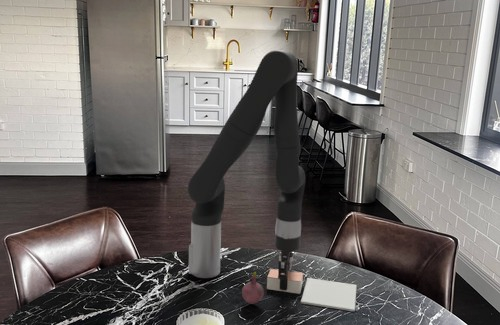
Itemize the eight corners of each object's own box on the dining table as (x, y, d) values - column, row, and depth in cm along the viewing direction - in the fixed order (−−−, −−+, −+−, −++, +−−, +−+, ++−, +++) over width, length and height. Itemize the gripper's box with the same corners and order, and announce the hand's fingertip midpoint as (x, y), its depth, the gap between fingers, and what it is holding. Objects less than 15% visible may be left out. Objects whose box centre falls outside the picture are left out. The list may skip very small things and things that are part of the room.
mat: (300, 303, 136) (300, 301, 136) (307, 279, 150) (307, 277, 150) (354, 311, 133) (354, 309, 132) (356, 286, 147) (356, 284, 147)
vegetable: (259, 312, 130) (261, 278, 128) (238, 307, 132) (239, 274, 130) (265, 301, 136) (267, 269, 134) (245, 297, 138) (246, 265, 136)
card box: (266, 289, 143) (267, 276, 142) (270, 280, 149) (270, 268, 148) (300, 293, 141) (300, 281, 140) (302, 285, 146) (303, 273, 146)
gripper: (279, 222, 148) (277, 272, 152) (270, 239, 135) (268, 294, 139) (303, 225, 147) (300, 276, 151) (297, 243, 133) (293, 298, 137)
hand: (285, 284), depth 145 cm, fingers closed on card box, 5 cm apart
